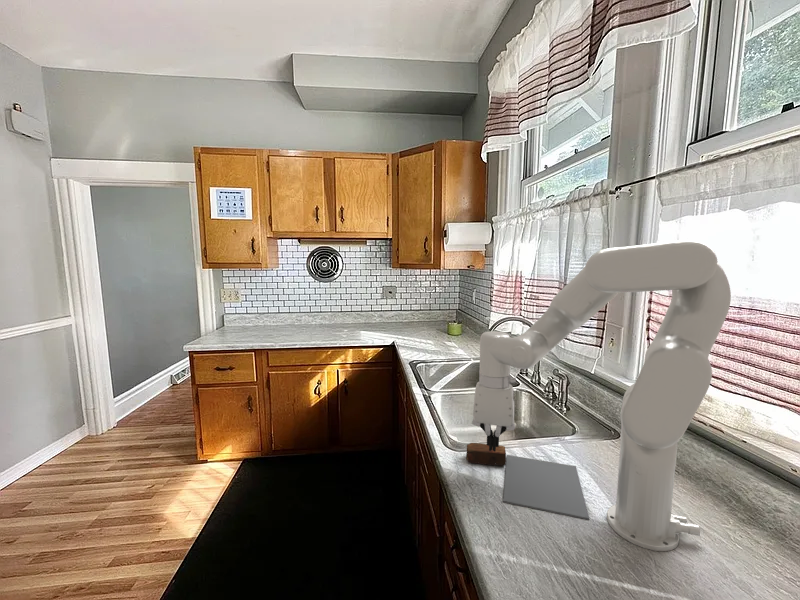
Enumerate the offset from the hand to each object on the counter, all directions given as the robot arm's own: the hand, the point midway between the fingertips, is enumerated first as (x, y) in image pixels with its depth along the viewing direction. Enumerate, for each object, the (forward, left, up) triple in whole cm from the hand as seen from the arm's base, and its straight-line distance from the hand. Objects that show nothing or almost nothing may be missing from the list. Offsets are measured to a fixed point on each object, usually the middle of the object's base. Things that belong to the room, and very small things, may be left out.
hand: (492, 448), depth 93 cm
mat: (-12, -1, -8) cm, 14 cm away
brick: (+4, -2, -3) cm, 6 cm away
